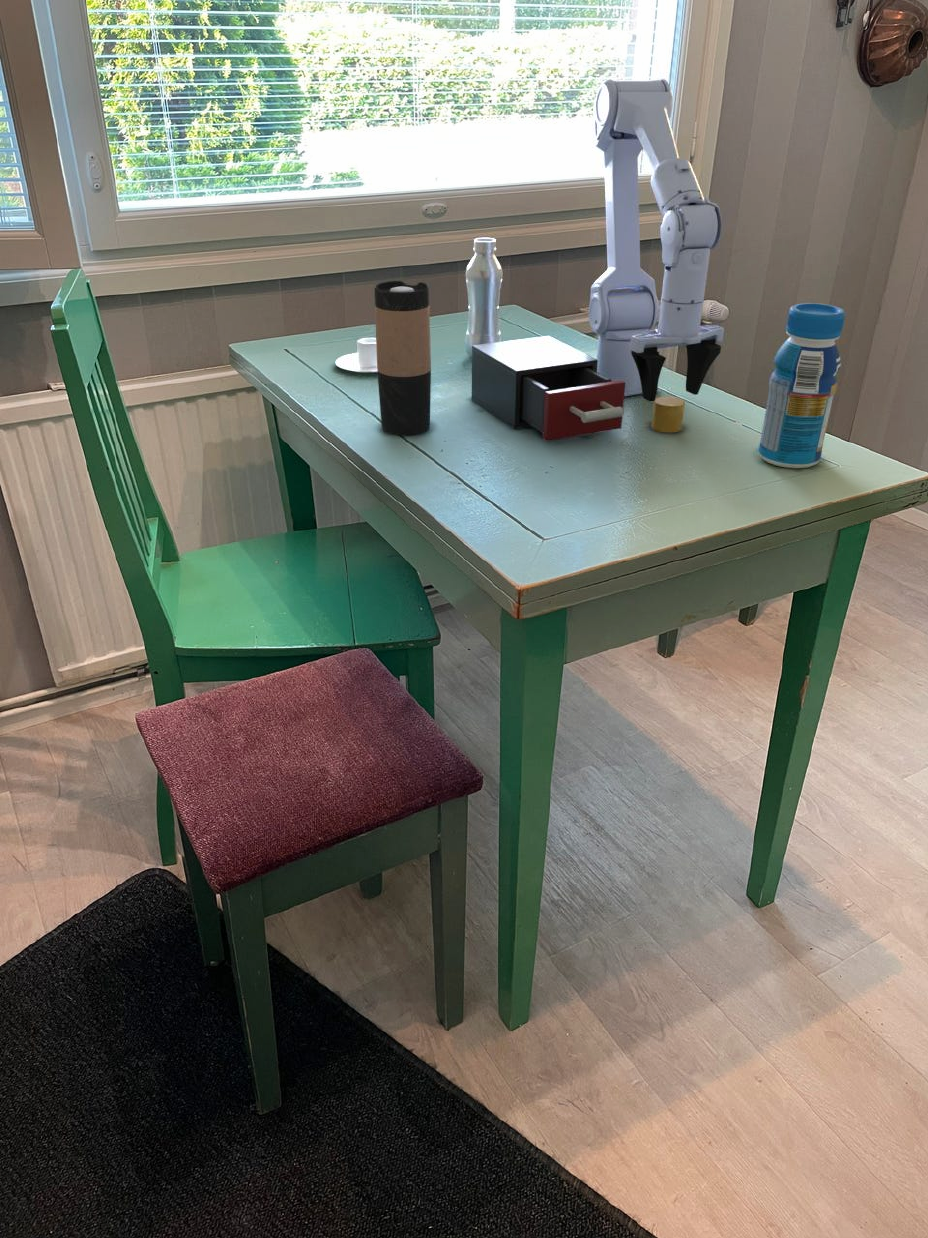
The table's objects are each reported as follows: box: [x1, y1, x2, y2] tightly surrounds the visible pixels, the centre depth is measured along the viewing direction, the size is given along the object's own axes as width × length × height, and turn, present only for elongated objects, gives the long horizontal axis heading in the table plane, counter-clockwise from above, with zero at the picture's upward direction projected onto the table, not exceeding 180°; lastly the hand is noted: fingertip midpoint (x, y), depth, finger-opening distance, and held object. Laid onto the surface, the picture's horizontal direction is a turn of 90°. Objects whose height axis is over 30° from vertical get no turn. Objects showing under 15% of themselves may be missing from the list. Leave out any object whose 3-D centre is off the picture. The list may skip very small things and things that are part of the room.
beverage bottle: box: [758, 302, 846, 469], centre depth 123 cm, size 8×8×20 cm
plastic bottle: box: [464, 237, 504, 359], centre depth 163 cm, size 6×7×20 cm
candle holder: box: [335, 337, 378, 374], centre depth 163 cm, size 12×12×4 cm
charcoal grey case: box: [471, 335, 598, 430], centre depth 143 cm, size 15×14×9 cm
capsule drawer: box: [519, 367, 625, 442], centre depth 135 cm, size 18×12×7 cm
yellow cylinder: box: [651, 395, 686, 434], centre depth 137 cm, size 4×4×4 cm
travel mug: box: [373, 280, 432, 437], centre depth 133 cm, size 8×8×20 cm
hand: (670, 395), depth 136 cm, fingers open, 7 cm apart
